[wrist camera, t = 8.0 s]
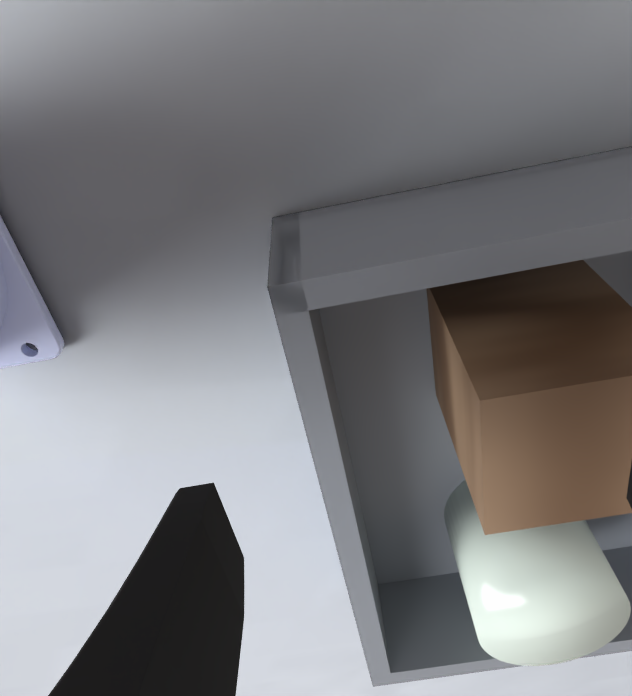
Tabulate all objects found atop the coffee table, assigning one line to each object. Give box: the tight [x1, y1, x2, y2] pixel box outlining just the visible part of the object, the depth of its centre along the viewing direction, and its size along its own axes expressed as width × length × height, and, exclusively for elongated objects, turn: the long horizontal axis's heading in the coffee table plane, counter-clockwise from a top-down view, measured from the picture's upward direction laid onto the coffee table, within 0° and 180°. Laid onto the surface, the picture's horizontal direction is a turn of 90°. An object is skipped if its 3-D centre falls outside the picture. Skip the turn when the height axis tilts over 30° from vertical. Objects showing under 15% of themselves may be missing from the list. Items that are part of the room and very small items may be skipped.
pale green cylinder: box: [444, 480, 631, 666], centre depth 21 cm, size 5×5×5 cm
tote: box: [267, 147, 632, 687], centre depth 20 cm, size 13×18×4 cm
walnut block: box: [427, 260, 632, 535], centre depth 16 cm, size 4×4×6 cm
